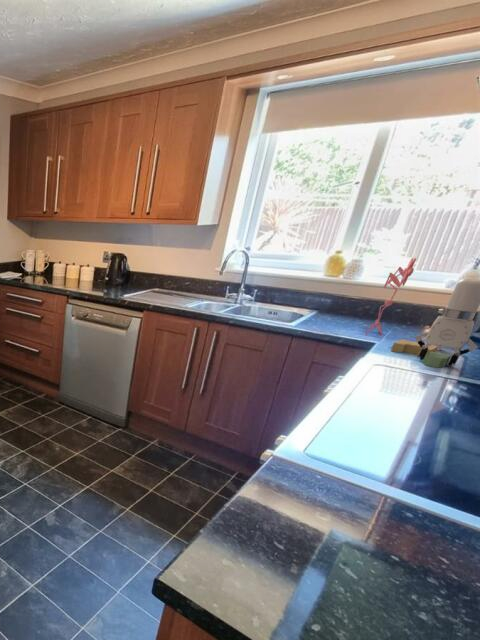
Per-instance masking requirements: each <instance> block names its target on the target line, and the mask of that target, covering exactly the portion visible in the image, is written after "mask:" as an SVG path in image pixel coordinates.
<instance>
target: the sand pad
mask: <svg viewBox="0 0 480 640" xmlns="http://www.w3.org/2000/svg"><path fill="white" fill-rule="evenodd" d="M437 348H438V346H434V345H430V346H429V347H428V351H427V353H426V354H428V353H429V352H431V351H432V352H437V351H438V350H437ZM421 350H422V349H421V347H420V345H419V344H418V342H417V341H411V340H408V339H407V340H406V339H403V338H402V339H399V340H397V341H395V342H394V343H393V344H392V346H391V349H390V352H395V353H398V354H402V353H406V354H410V355H415V356H417V357H419V354H420V352H421ZM425 356H426V355H425ZM419 358H420V357H419Z"/></svg>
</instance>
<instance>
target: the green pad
mask: <svg viewBox="0 0 480 640" xmlns="http://www.w3.org/2000/svg"><path fill="white" fill-rule="evenodd" d="M451 357H452V355H451V354H446V353H441V352H438V351H436V352H432V351H431V352H429V353H428V354H426V356H425V358H424V359H423V360H422V362H421V363H422V364H424V366H427V367H430V368H431V367H432V368H436V369H439V368H445V367H446V366H448V363H449V361H450V359H451Z"/></svg>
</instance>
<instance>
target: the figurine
mask: <svg viewBox="0 0 480 640" xmlns="http://www.w3.org/2000/svg"><path fill="white" fill-rule="evenodd" d="M416 260H417V257H416V258H414V257H412V258H410V260H409V262H408V264H407V266H406V267H404V269H403V268H402V266H399V267H398V268H397V270H396V271H395V272H394V273H392V272H389V274H388V277H387V278H386V281H385V284H384V286H383V288H387V286H388V285H390V286H391V287H392V288H394V292H393V295H392V296H391V298H390V299H386V300H385V301H384V304H383V305H380V307H379V310H378V317H377V319H375V320H374V323H372V324H371V325H370V326H369V327H367V329H366V330H365V332H364V334H362V336H364V335H367V334H368V333H369V332H370V331H372V330H373V329H374V328H375V327H376V329H377V331H378V333H379V335H380V336H381V337H383V332H382V329H383V328H382V324H381V322H380V320H381V317H382V315H383V311H384V309H386V308H387V307H389V306H391V305H393V304H394V301H393V299H394V296H395V295H396V294H397V292H398V288H400V287H401V286H402V287H404V286H405V284H406V283H407V281H408V278H409V277H411V276H412V274H413V273H414V270H415V269H414V265H415V263H416ZM397 273H398V274H397ZM399 276H401V277H402V278H401V279H400V280H399ZM391 282H392V283H393V284H394V285H393V284H392V283H391ZM395 285H396V286H395ZM397 287H398V288H397ZM382 307H383V308H382ZM391 333H393V334H395V335H396V334H398V333H397V332H395V331H394V332H393V331H392V332H391ZM399 335H400V336H403V337H404V338H402V340H406V336H405V335H404V334H400V333H399Z"/></svg>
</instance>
